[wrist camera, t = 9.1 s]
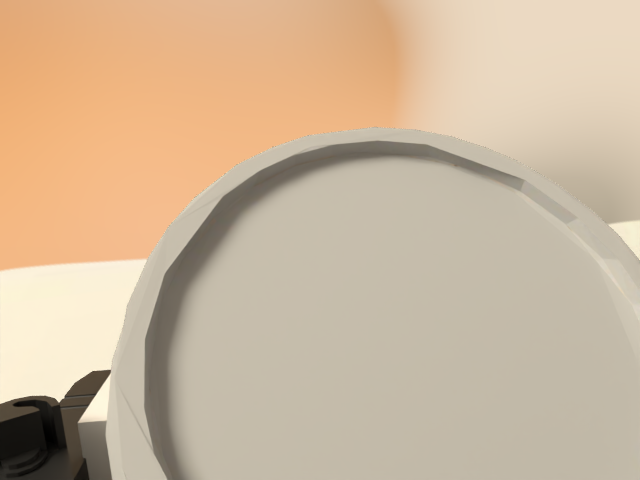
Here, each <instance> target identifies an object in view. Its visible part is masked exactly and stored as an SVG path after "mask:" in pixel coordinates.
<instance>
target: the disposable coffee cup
mask: <svg viewBox="0 0 640 480" xmlns="http://www.w3.org/2000/svg"><path fill="white" fill-rule="evenodd" d="M106 441H107V448H108V455H109V461H110V468H111V474H112V480H640V260H639V259H638V258H637V256H636V255H635V254H634V253H633V252H632V251H631V249H630V248H629V247H628V246H627V245H626V244H625V242H624V241H623V240H622V239H621V238H620V236H619V235H618V234H617V233H616V232H615V231H614V230H613V229H612V228H611V227H610V226H608V225H607V224H606V223H605V222H604V221H603V220H602V219H601V218H600V217H599V216H598V215H597V214H596V213H595V212H594V211H592V210H591V209H590V208H588V207H587V206H586V205H584V204H583V203H582V202H580V201H579V200H578V199H576V198H575V197H574V196H572V195H571V194H570V193H568V192H567V191H566V190H565V189H563V188H562V187H560V186H559V185H558V184H557V183H555V182H554V181H552V180H550V179H549V178H547V177H545V176H543V175H541V174H540V173H538V172H536V171H534V170H533V169H531V168H529V167H527V166H526V165H524V164H522V163H520V162H518V161H517V160H515V159H512V158H510V157H507V156H505V155H503V154H500V153H498V152H495V151H493V150H491V149H488V148H486V147H482V146H480V145H476V144H473V143H470V142H467V141H464V140H460V139H458V138H455V137H451V136H446V135H441V134H436V133H430V132H425V131H420V130H412V129H396V128H379V127H372V128H363V129H356V130H348V131H339V132H331V133H324V134H316V135H308V136H305V137H302V138H299V139H296V140H293V141H290V142H287V143H284V144H281V145H278V146H275V147H272V148H270V149H268V150H266V151H264V152H262V153H260V154H258V155H256V156H254V157H252V158H250V159H248V160H246V161H244V162H242V163H240V164H237V165H236V166H234V168H232V169H231V170H229V171H228V172H227V173H225V174H224V175H223V176H222V177H220V178H219V179H218V180H217V181H215V182H214V183H213V184H211V185H210V186H209V187H208V188H206V189H205V190H204V191H202V192H201V193H200V194H199V195H197V196H196V197H195V198H194V199H193V200H192V201H191V202H190V203H189V205H188V206H187V207H186V208H185V209H184V210H183V211H182V212H181V213H180V214H179V216H178V217H177V218H176V219H175V220H174V221H173V222H172V223H171V225H170V226H169V227H168V228H167V230H166V231H165V233H164V235H163V236H162V237H161V239H160V241H159V242H158V244H157V245H156V247H155V248H154V250H153V251H152V253H151V254H150V256H149V257H148V259H147V262H146V264H145V266H144V269H143V271H142V273H141V275H140V278H139V280H138V282H137V284H136V287H135V289H134V291H133V293H132V296H131V298H130V300H129V303H128V305H127V309H126V315H125V320H124V325H123V328H122V331H121V334H120V338H119V341H118V344H117V347H116V350H115V353H114V356H113V359H112V367H111V378H110V389H109V401H108V412H107V423H106Z"/></svg>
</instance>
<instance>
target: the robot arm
mask: <svg viewBox="0 0 640 480" xmlns="http://www.w3.org/2000/svg"><path fill="white" fill-rule="evenodd" d="M110 378H111V370H103V371H92V372H91V373H89V374H88V375H86V376H85V377H83V378H82V379H80V380H79V381H77V382H76V383H75V384H74V385H73V386H72V387H71V389H70V390H69V391H68V392H67V394H66V395H65V398H64V399H62V400H61V401H60V403H58V401H57V400H56V399H55V398H51V397H48V396H29V397H24V398H19V399H14V400H11V401H8V402H5V403H2V404H0V480H112V474H111V468H110V461H109V455H108V448H107V441H106V423H107V412H108V401H109V389H110Z"/></svg>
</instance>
